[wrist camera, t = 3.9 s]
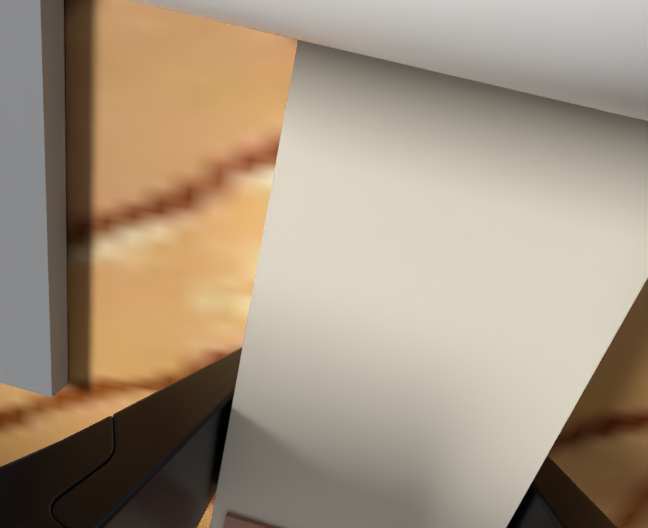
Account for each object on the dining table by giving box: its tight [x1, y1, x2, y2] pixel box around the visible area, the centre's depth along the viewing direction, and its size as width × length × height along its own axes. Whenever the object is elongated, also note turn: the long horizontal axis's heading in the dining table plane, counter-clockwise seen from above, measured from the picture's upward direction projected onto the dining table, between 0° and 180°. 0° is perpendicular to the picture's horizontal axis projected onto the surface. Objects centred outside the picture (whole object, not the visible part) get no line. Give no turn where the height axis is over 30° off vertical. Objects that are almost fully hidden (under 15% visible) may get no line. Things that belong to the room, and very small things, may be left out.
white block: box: [210, 40, 648, 528], centre depth 7 cm, size 14×4×4 cm, turn 167°
